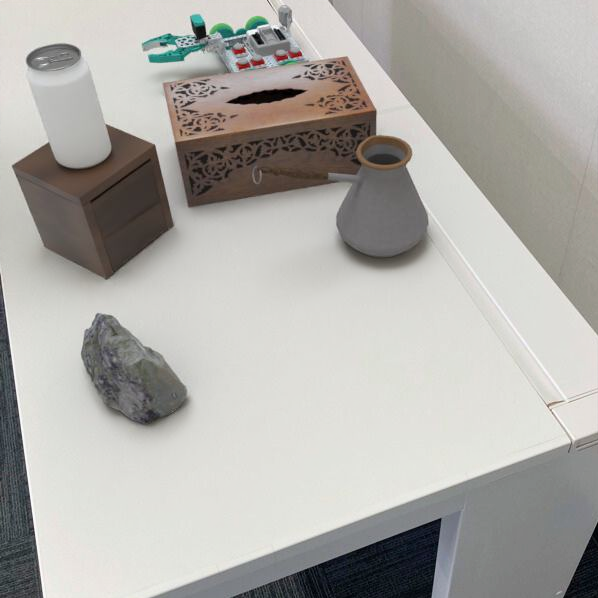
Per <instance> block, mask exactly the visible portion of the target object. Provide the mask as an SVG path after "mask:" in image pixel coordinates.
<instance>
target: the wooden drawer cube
mask: <svg viewBox="0 0 598 598" xmlns="http://www.w3.org/2000/svg"><path fill="white" fill-rule="evenodd" d="M105 124H106V128H107V131H108V135H109V139H110V143H111V152H110V154H109V156H108V157H107V159H106V160H104V161H103V162H102V163H100V164H98V165H96V166H94V167H90V168H86V169H71V168H67V167H65V166H63V165H61V164H60V163H58V162H57V160H56V159H55V157H54V154H53V151H52V149H51V146H50V143H49V141H48V142H46V143H44V144H43V145H41V146H40V147H39V148H37V149H35V150H34V151H33V152H30V153H29V154H27V155H26V156H24V157H23V158H21V159H19V160H18V161H16V162H15V163H13V164H12V165H11V168H12V170H13V172H14V174H15V177H16V180H17V182H18V184H19V187H20V189H21V192H22V195H23V197H24V199H25V202H26V205H27V207H28V209H29V212H30V215H31V217H32V219H33V222H34V224H35V227H36V230H37V232H38V235H39V237H40V240H41V241H42V244H43V246H44V247H45V248H46V249H48V250H50V251H52V252H54V253H56V254H58V255H60V256H62V257H63V258H66V259H67V260H69V261H72V262H73V263H75V264H77V265H79V266H81V267H83V268H85V269H87V270H89V272H92V273H93V274H96V275H98V276H99V277H101V278H104V279H106V280H108V279H109V278H111V277H112V276H113V275H114V272H115V271H116V270H117V269H119V268H120V267H121V266H122V265H124V264H125V263H126V262H127V261H129V260H130V259H132V257H134V256H135V255H136V254H138V253H139V252H140V251H142V249H144V248H145V247H146V246H148V245H149V244H150V243H152V242H153V241H154V240H155V239H156V238H158V237H159V236H160V235H161V234H162V233H164V232H165V231H169V230H170V229H172V228H174V226H175V224H174V220H173V215H172V212H171V206H170V202H169V199H168V193H167V189H166V185H165V181H164V177H163V172H162V168H161V163H160V159H159V156H158V151H157V146H156V143H155V144H154V143H153V142H150V141H148V140H145V139H143V138H141V137H138V136H136V135H133V134H131V133H128V132H126V131H124V130H122V129H119V128H118V127H114V126H112V125H110V124H107V123H105Z"/></svg>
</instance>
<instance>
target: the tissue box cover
mask: <svg viewBox="0 0 598 598" xmlns="http://www.w3.org/2000/svg"><path fill="white" fill-rule="evenodd" d="M162 87H163V92H164V97H165V102H166V107H167V111H168V116H169V121H170V126H171V131H172V135H173V139H174V144H175V150H176V154H177V159H178V165H179V169H180V174H181V179H182V183H183V188H184V192H185V197H186V202H187V207H188V208H193V207H199V206H203V205H205V206H206V205H210V204H217V203H222V202H228V201H233V200H234V201H235V200H239V199H240V200H241V199H244V198H252V197H256V196H263V195H268V194H274V193H281V192H285V191H286V192H287V191H292V190H297V189H298V190H299V189H305V188H309V187H314V186H321V185H326V184H327V185H328V184H331V183H333V184H334V183H338V182H339V183H340V181H335V180H328V179H327V180H317V179H295V178H292V177H288V176H284V175H281V174H280V175H279V176H275V175H274V174H273V173H268V174H265V173H262V178H261V182H260V184H255V183H254V181H253V176H252V172H253V168H254V166H265V165H267V166H269V167H274V166H276V165H279V166H280V167H281V168H287V167H300V168H306V169H312V170H318V171H323V172H328V173H336V174H348V175H357V173H358V171H359V170H360V168H361V166H362V164H361V162H360V161H359V160H358V158H357V156H356V150H357V148H358V146H359V145H360V143H361V142H363V141H364V140H365V139H367V138H368V137H370V136H372V135H377V117H378V116H377V114H378V113H377V112H378V111H377V108H376V107H375V105H374V103H373V101H372V99H371V97H370V96H369V94H368V91H367V90H366V88H365V86H364V84H363V82H362V81H361V79H360V76H359V75H358V73H357V71H356V69H355V68H354V66H353V64H352V61H351V60H350V58H349V56H347V55H346V56H339V57H332V58H324V59H319V60H312V61H309V62H304V63H297V64H290V65H283V66H276V67H269V68H262V69H255V70H248V71H241V72H234V73H231V72H228V73H221V74H214V75H208V76H201V77H193V78H186V79H180V80H174V81H165V82H162ZM254 178H255V182H256V183H258V182H259V179H260V172H258V171H257V167H256V168H255V171H254Z"/></svg>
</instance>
